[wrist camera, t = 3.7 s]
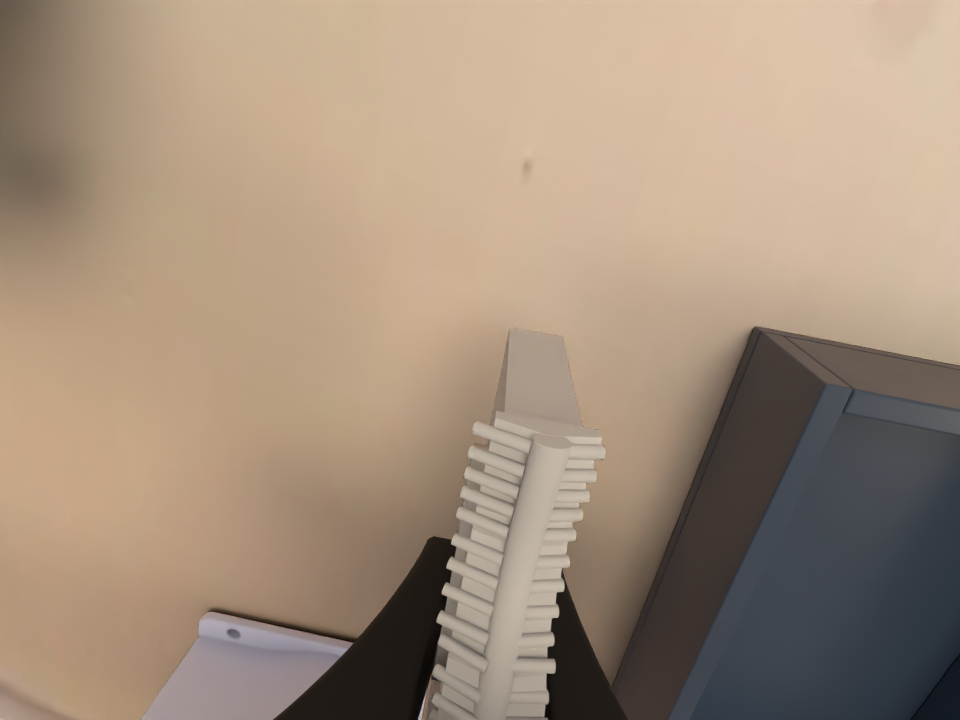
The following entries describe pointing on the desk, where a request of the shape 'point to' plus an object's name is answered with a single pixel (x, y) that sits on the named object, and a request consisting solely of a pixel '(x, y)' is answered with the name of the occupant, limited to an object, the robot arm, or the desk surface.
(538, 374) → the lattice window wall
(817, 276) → the desk surface
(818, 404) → the tote
